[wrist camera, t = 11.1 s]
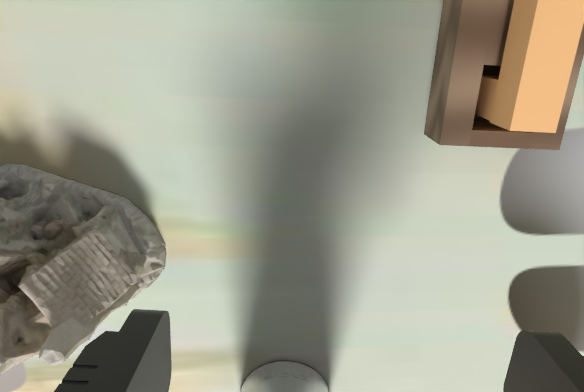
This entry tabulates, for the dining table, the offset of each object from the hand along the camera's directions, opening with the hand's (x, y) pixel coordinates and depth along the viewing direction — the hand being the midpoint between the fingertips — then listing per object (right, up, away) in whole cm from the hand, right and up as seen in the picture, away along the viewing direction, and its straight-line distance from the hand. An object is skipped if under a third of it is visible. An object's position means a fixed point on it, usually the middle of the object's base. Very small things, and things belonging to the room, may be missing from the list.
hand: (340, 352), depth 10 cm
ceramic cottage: (-22, 0, +30) cm, 37 cm away
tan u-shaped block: (+15, +16, +24) cm, 32 cm away
